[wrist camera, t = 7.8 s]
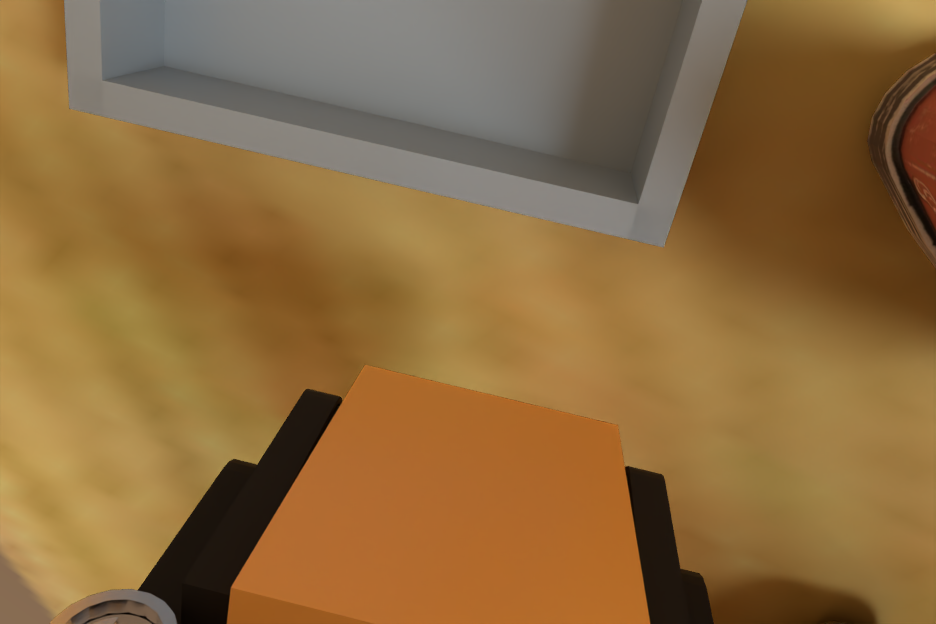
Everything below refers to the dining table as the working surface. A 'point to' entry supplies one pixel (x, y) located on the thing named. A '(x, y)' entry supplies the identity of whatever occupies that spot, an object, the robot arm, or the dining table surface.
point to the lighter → (909, 150)
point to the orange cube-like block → (449, 517)
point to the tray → (429, 92)
